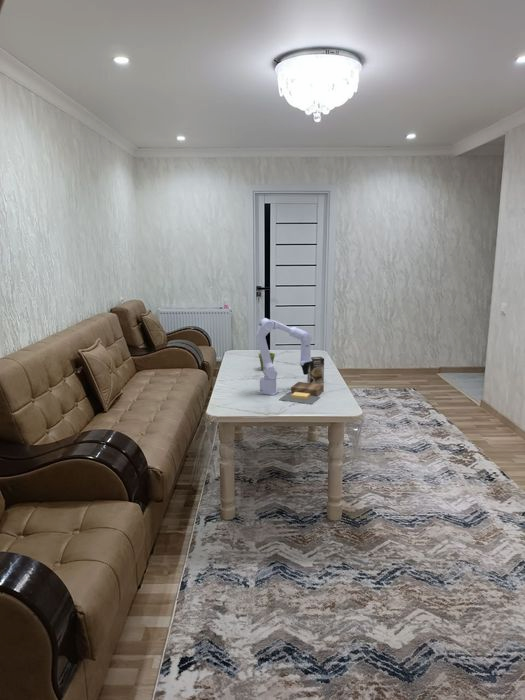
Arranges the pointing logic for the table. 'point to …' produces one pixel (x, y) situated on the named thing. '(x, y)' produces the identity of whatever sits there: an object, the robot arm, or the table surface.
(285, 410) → the table surface
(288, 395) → the mat
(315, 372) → the coffee box
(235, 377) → the table surface
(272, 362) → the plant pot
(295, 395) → the tile
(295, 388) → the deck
